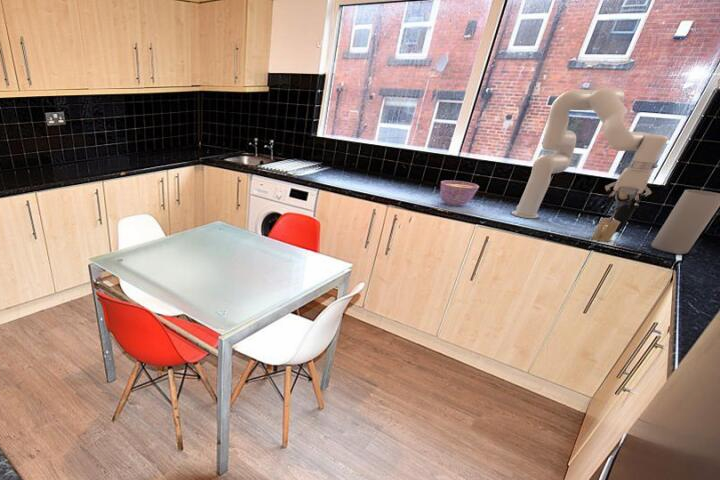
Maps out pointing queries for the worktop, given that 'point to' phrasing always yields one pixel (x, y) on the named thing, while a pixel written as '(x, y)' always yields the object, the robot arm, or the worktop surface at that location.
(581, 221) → the worktop surface
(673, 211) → the taupe cylinder
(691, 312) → the worktop surface
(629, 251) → the worktop surface
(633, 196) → the wine glass
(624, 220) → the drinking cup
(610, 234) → the wooden mug
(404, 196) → the worktop surface
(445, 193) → the bowl of food
